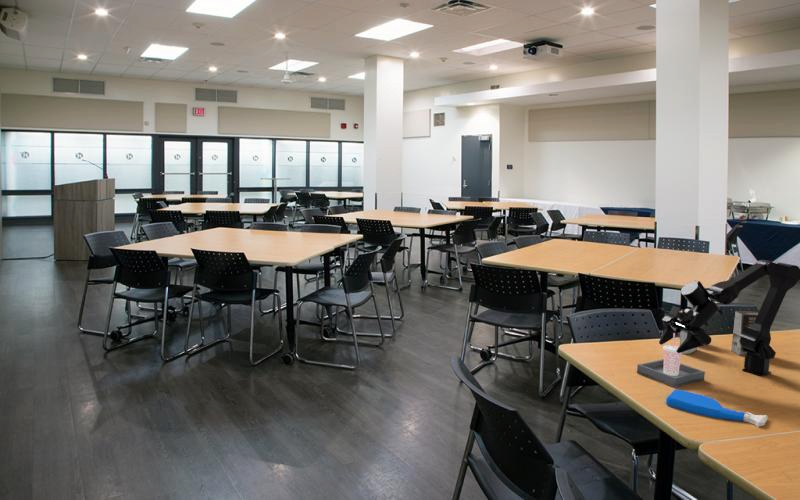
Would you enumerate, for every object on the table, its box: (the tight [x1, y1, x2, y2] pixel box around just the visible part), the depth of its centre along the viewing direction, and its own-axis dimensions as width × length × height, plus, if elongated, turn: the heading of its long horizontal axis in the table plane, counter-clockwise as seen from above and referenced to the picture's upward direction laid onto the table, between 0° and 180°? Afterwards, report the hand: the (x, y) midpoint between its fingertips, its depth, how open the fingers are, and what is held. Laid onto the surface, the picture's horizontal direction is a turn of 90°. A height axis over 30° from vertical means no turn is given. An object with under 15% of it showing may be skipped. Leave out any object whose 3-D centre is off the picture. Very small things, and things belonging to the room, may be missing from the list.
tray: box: [636, 358, 706, 388], centre depth 187 cm, size 15×15×3 cm
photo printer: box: [679, 331, 698, 355], centre depth 215 cm, size 10×4×12 cm, turn 134°
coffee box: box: [730, 310, 759, 357], centre depth 212 cm, size 9×6×16 cm
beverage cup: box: [662, 333, 683, 376], centre depth 186 cm, size 6×6×14 cm
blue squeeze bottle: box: [665, 389, 768, 427], centre depth 159 cm, size 3×11×24 cm
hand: (668, 347), depth 186 cm, fingers open, 9 cm apart
